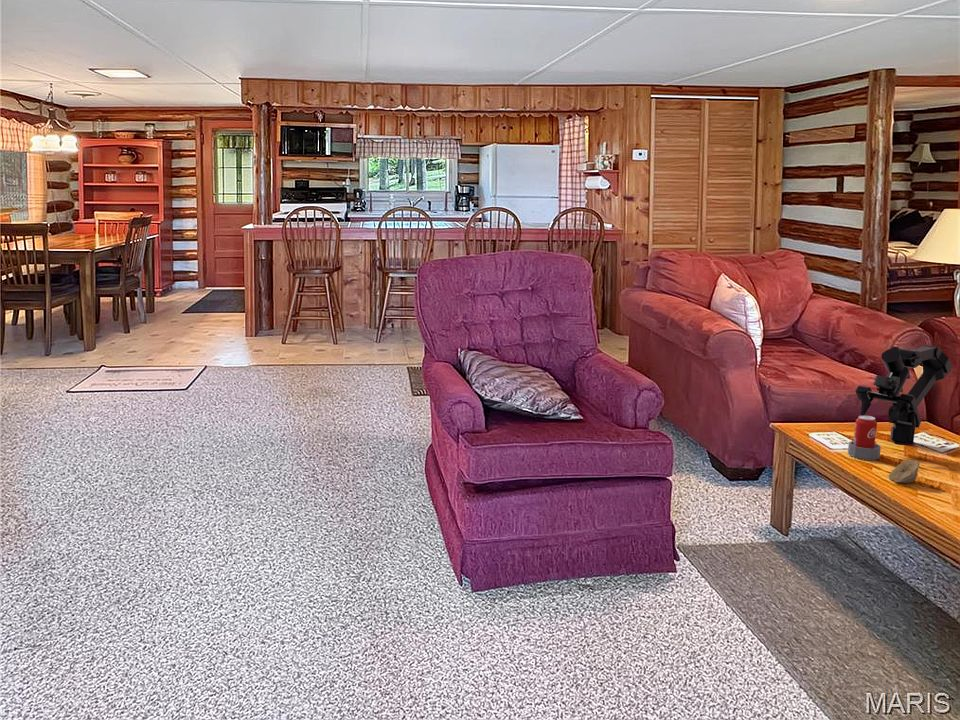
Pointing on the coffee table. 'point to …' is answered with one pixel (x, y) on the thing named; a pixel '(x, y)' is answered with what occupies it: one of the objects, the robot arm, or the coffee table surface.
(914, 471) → the fossil
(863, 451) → the can holder
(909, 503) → the coffee table surface
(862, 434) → the beverage can
